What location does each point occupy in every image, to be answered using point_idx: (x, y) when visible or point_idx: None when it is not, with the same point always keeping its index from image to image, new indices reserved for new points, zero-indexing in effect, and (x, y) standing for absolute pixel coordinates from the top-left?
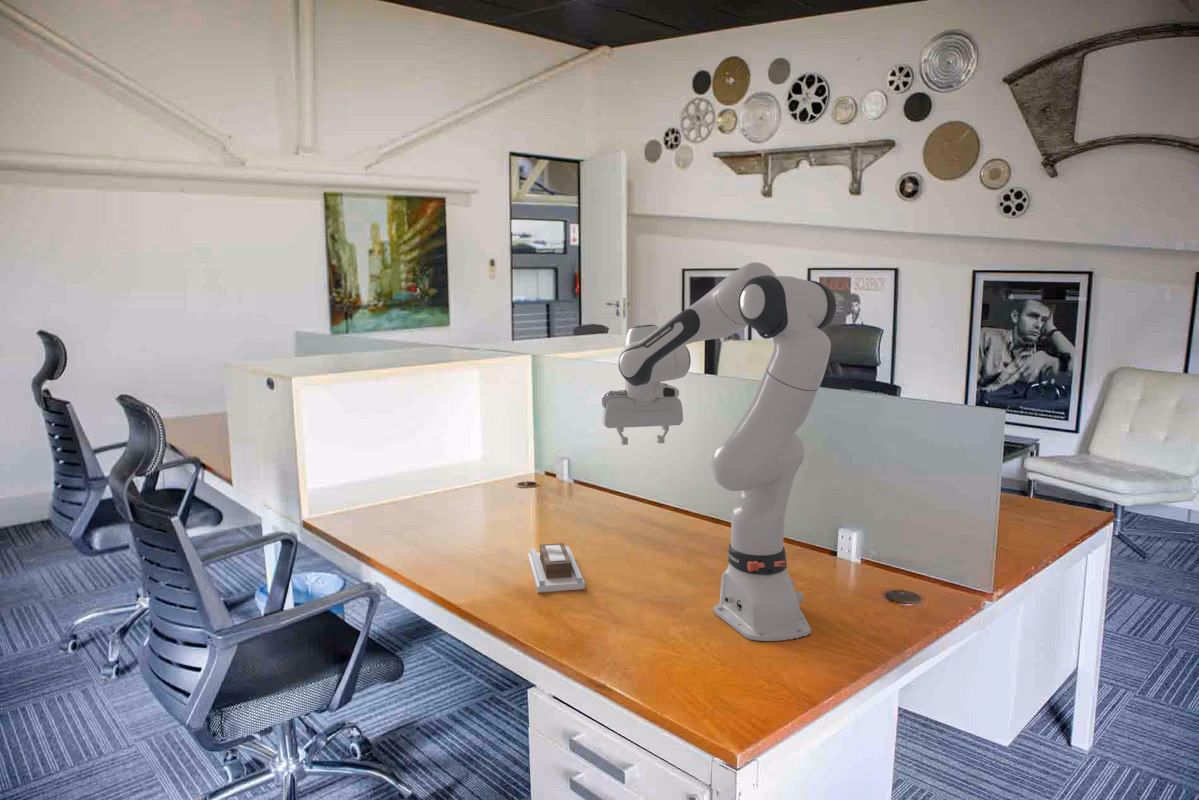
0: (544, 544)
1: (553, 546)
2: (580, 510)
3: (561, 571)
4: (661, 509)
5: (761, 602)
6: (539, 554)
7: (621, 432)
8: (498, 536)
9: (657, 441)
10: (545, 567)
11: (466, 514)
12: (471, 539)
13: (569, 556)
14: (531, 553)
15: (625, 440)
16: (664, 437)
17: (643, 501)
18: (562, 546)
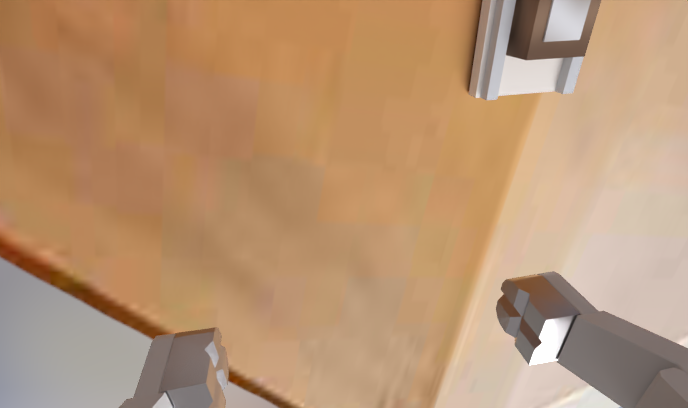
0: (573, 56)
1: (563, 28)
2: (381, 343)
3: None
4: None
5: None
6: (550, 77)
7: (671, 359)
8: (559, 223)
9: (227, 364)
10: None
11: None
12: (606, 211)
13: (510, 16)
14: (582, 58)
15: (555, 299)
16: (137, 385)
17: (253, 388)
18: (538, 30)
